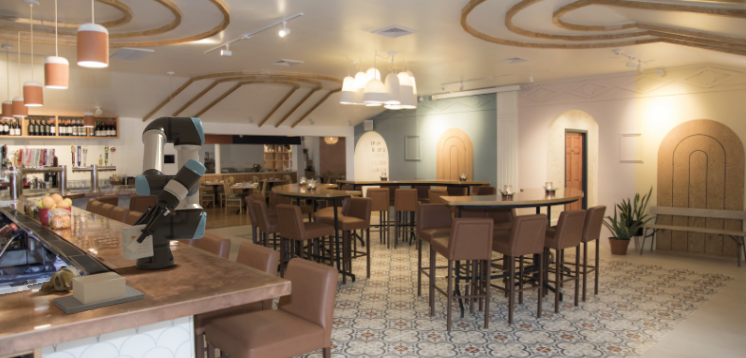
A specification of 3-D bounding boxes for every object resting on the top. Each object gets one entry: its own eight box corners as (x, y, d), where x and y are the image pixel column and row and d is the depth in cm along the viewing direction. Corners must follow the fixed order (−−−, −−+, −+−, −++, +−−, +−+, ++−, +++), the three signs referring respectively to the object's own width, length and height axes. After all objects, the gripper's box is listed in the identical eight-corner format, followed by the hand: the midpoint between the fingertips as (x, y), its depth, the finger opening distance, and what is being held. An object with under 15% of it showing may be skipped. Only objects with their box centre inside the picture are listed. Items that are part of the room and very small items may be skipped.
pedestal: (53, 303, 152) (52, 279, 152) (126, 289, 168) (125, 268, 168) (67, 314, 141) (67, 289, 141) (144, 298, 157) (143, 276, 157)
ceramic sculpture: (86, 259, 175) (70, 271, 161) (88, 282, 176) (72, 296, 162) (54, 261, 173) (35, 273, 159) (56, 284, 174) (37, 298, 159)
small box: (147, 253, 166) (145, 223, 165) (153, 255, 162) (152, 225, 161) (122, 257, 160) (120, 227, 160) (128, 260, 156) (126, 228, 156)
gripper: (192, 203, 165) (146, 259, 154) (167, 200, 178) (123, 251, 167) (176, 189, 161) (128, 245, 150) (152, 187, 173) (106, 239, 162)
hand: (126, 248), depth 158 cm, fingers closed on small box, 6 cm apart
